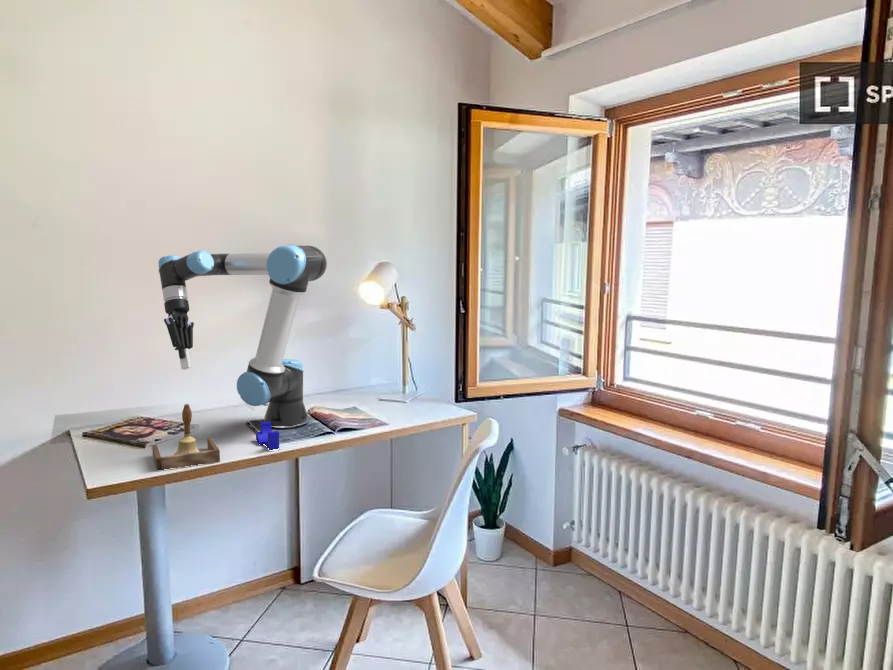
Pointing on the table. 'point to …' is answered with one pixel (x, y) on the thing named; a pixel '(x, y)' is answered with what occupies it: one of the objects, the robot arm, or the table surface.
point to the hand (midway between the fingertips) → (186, 368)
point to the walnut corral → (187, 457)
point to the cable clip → (268, 436)
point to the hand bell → (187, 434)
